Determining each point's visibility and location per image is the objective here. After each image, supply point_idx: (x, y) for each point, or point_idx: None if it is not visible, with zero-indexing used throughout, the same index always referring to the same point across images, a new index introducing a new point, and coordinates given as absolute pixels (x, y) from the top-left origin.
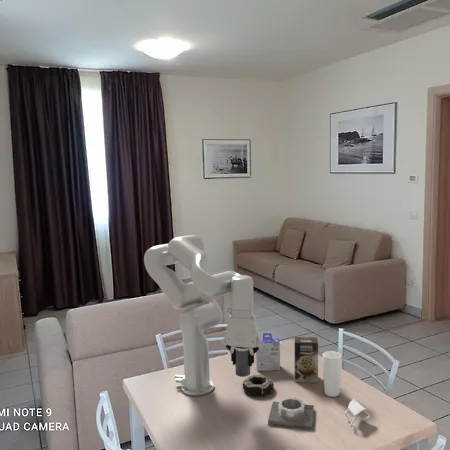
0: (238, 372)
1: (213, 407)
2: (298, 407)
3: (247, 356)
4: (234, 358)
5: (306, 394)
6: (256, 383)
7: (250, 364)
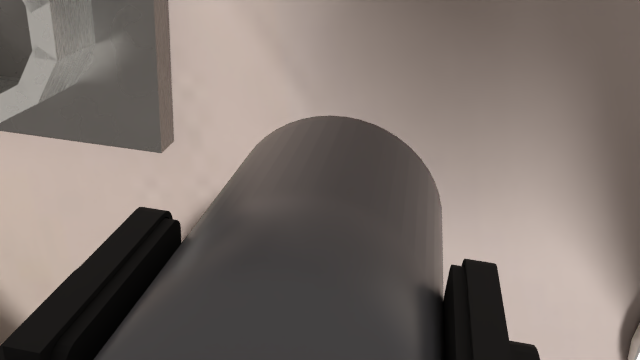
0: (384, 153)
1: (635, 87)
2: None
3: (106, 343)
4: (462, 349)
5: (3, 271)
6: None
7: (132, 225)
